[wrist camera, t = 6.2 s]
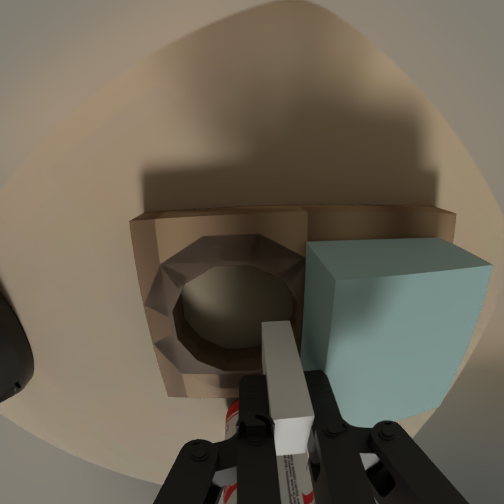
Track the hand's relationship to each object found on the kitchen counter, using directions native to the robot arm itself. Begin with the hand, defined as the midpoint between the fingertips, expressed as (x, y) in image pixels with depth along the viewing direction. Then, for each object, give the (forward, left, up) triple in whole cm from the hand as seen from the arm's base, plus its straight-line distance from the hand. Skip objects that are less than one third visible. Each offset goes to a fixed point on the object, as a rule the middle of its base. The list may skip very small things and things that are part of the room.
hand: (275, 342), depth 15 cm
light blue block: (+6, 0, -1) cm, 6 cm away
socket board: (+2, 0, -4) cm, 5 cm away
